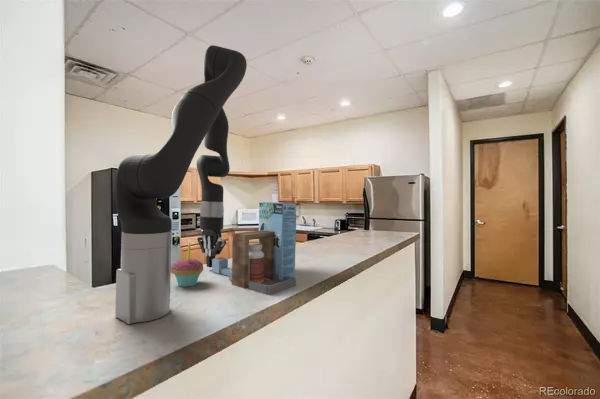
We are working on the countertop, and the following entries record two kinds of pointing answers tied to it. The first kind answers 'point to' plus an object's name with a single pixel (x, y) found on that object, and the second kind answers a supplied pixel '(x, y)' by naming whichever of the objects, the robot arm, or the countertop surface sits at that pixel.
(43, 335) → the countertop surface
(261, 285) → the dock
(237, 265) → the tunnel
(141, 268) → the robot arm
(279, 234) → the light blue upright box
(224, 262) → the sled
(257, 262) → the pill bottle
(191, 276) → the cupcake
